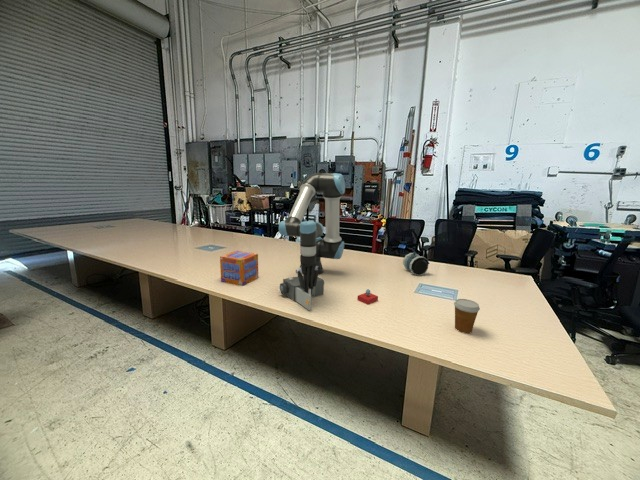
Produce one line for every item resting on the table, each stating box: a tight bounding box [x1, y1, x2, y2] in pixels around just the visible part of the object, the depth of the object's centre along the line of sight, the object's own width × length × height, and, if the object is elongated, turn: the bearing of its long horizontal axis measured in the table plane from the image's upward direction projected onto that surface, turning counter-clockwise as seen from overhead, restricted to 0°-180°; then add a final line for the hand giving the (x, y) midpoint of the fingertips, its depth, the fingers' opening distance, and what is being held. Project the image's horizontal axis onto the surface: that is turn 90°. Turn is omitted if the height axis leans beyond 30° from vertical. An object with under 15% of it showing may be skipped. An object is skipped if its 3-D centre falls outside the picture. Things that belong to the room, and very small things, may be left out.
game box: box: [219, 250, 259, 287], centre depth 166 cm, size 16×16×16 cm
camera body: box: [279, 274, 325, 302], centre depth 148 cm, size 21×12×9 cm, turn 124°
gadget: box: [402, 251, 430, 276], centre depth 190 cm, size 14×13×15 cm
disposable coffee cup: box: [453, 298, 481, 334], centre depth 116 cm, size 10×10×12 cm
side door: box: [294, 287, 312, 311], centre depth 134 cm, size 13×2×7 cm, turn 36°
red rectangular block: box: [356, 289, 379, 305], centre depth 143 cm, size 8×7×6 cm
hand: (308, 301), depth 137 cm, fingers closed
